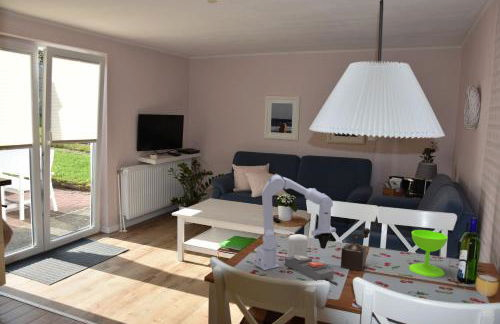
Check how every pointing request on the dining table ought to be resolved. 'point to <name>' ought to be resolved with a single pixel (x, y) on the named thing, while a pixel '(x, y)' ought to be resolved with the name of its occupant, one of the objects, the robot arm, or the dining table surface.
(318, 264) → the red rocker
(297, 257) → the grey rocker
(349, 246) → the manual coffee grinder
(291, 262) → the power strip
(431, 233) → the wineglass
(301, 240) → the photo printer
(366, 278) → the dining table surface
